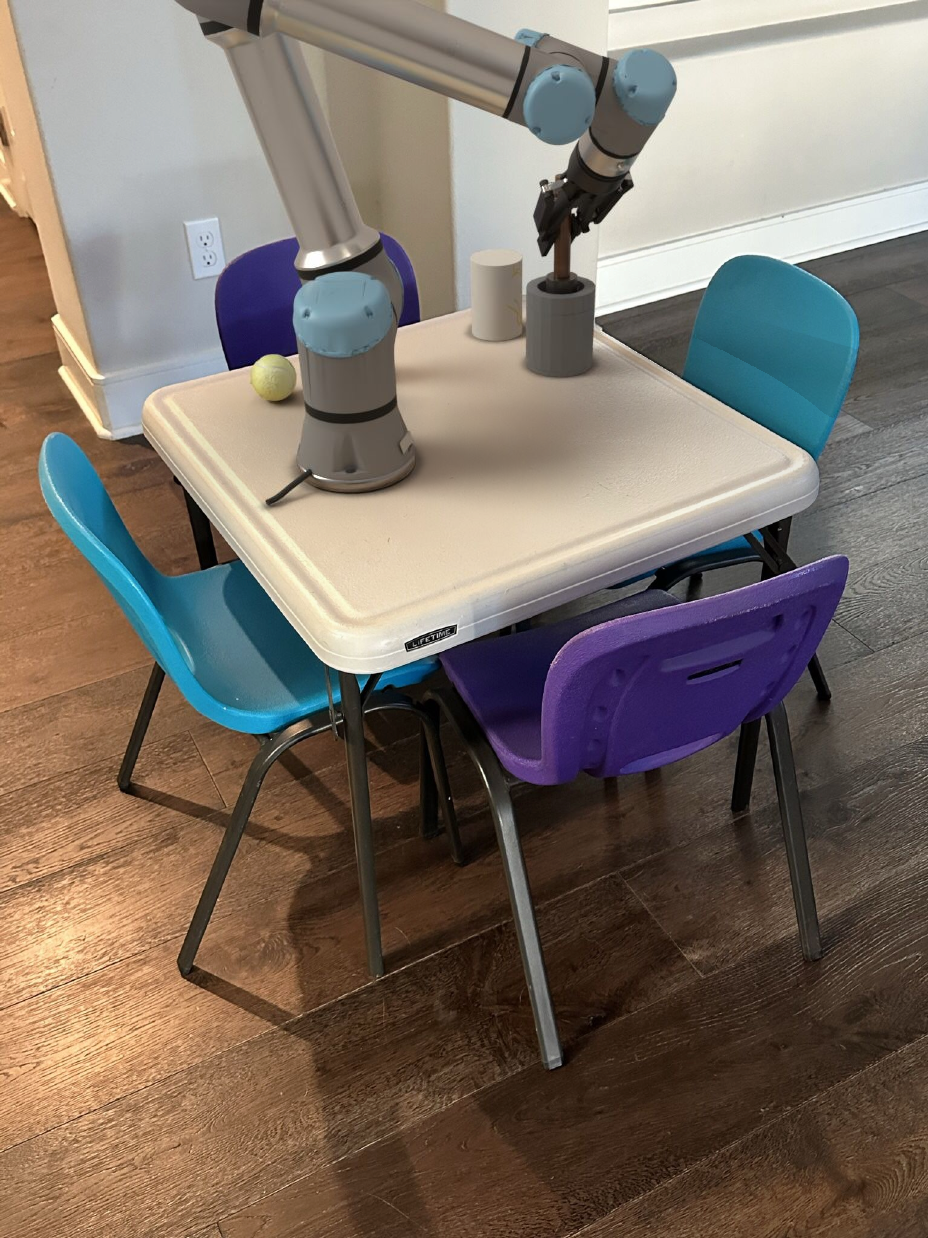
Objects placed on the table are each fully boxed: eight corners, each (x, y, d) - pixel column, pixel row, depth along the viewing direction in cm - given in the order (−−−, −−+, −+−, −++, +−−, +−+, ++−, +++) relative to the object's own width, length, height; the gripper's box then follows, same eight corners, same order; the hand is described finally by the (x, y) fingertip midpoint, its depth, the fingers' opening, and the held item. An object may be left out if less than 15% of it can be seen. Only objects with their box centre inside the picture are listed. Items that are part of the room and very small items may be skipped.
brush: (562, 323, 164) (565, 181, 153) (539, 316, 167) (540, 175, 155) (582, 315, 167) (587, 174, 155) (559, 307, 170) (562, 169, 158)
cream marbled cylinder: (522, 340, 179) (522, 265, 172) (471, 341, 179) (469, 266, 172) (521, 321, 186) (521, 248, 179) (472, 322, 186) (470, 249, 179)
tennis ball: (301, 406, 162) (295, 362, 158) (254, 411, 161) (247, 367, 157) (297, 387, 167) (292, 344, 163) (252, 392, 166) (245, 349, 162)
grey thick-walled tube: (562, 382, 166) (564, 303, 159) (512, 364, 171) (512, 287, 164) (605, 362, 171) (609, 284, 164) (556, 345, 177) (557, 269, 170)
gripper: (557, 186, 140) (508, 277, 162) (668, 172, 144) (606, 262, 166) (540, 132, 141) (495, 230, 163) (652, 119, 145) (592, 216, 167)
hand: (551, 246), depth 165 cm, fingers closed on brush, 2 cm apart
